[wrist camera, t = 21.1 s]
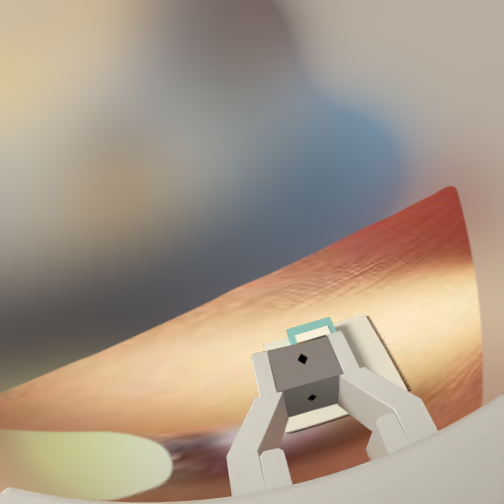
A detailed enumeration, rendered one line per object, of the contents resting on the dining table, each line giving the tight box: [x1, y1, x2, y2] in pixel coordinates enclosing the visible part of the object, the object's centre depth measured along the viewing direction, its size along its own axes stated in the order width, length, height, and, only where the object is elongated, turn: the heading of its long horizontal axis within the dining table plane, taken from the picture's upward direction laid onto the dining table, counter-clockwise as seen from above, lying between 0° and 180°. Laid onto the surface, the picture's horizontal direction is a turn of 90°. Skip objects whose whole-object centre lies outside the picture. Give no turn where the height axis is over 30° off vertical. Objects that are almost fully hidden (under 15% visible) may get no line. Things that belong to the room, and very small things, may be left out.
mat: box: [263, 314, 407, 434], centre depth 38 cm, size 15×14×1 cm
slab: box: [287, 317, 336, 345], centre depth 38 cm, size 6×3×10 cm
